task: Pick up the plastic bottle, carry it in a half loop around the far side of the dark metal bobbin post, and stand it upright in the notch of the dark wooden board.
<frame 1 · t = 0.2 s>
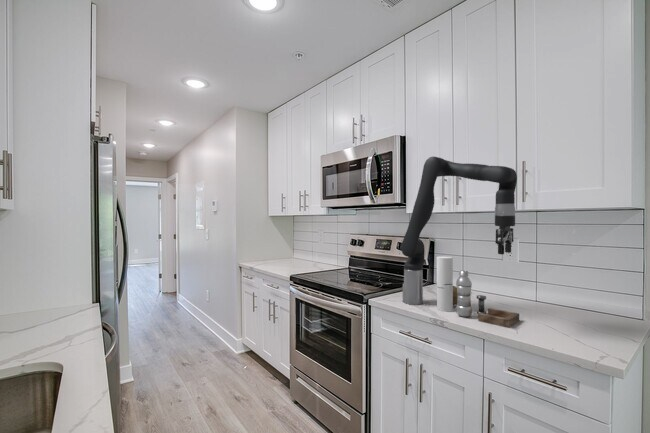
hand: (504, 253, 137), 29 cm above the countertop, tool pointing down, fingers open, 8 cm apart
plastic bottle: (464, 316, 145), on the countertop
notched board: (498, 320, 139), on the countertop
cylindrical container: (444, 309, 156), on the countertop
bobbin post: (481, 313, 149), on the countertop
natural sponge: (451, 305, 163), on the countertop
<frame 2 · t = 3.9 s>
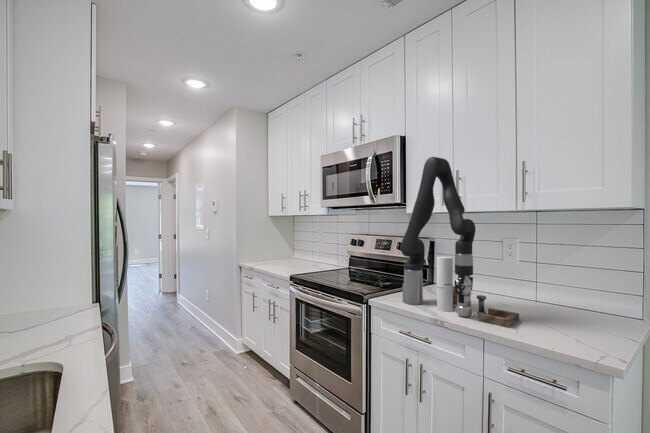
hand: (464, 301, 145), 6 cm above the countertop, tool pointing down, fingers closed on plastic bottle, 5 cm apart
plastic bottle: (464, 316, 145), on the countertop, touching gripper
everything else where it was.
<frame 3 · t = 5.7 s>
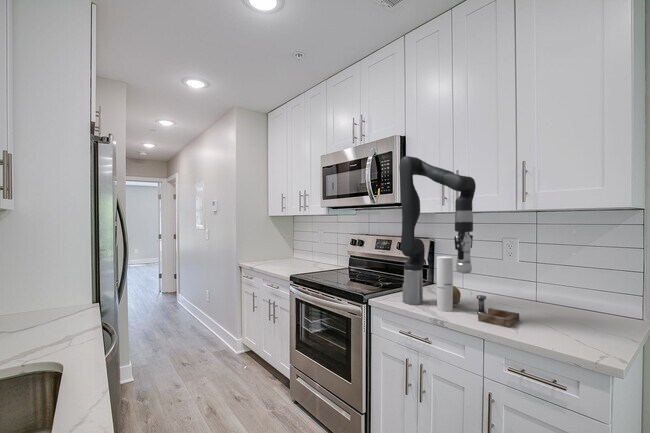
hand: (463, 258, 145), 26 cm above the countertop, tool pointing down, fingers closed on plastic bottle, 5 cm apart
plastic bottle: (463, 273, 145), point 19 cm above the countertop, touching gripper
everything else where it was.
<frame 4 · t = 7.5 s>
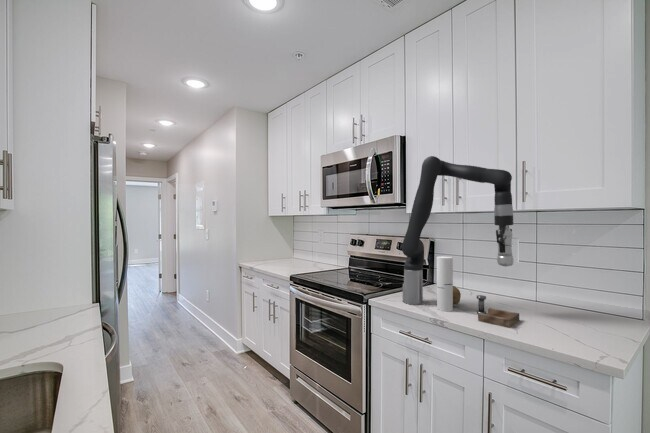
hand: (504, 251, 148), 28 cm above the countertop, tool pointing down, fingers closed on plastic bottle, 5 cm apart
plastic bottle: (505, 266, 148), point 22 cm above the countertop, touching gripper
everything else where it was.
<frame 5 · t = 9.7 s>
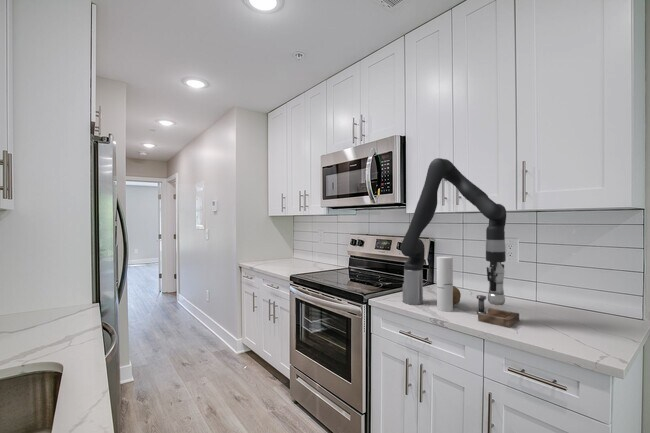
hand: (495, 289, 139), 13 cm above the countertop, tool pointing down, fingers closed on plastic bottle, 5 cm apart
plastic bottle: (496, 305, 139), point 6 cm above the countertop, touching gripper
everything else where it was.
when the fingers open (8 cm above the countertop, at t = 11.4 s): plastic bottle drops 1 cm, resting on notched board.
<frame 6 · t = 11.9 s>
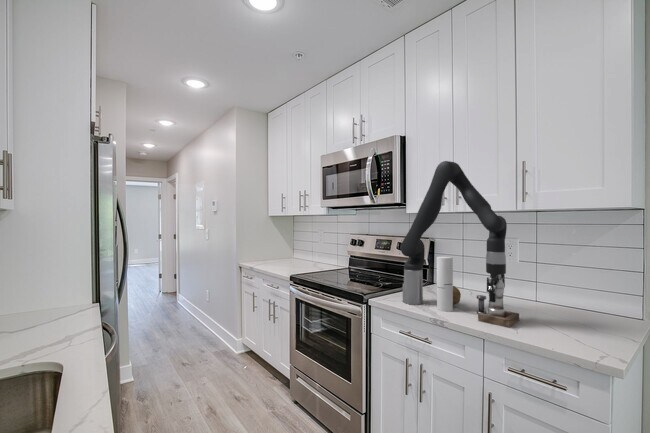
hand: (496, 300, 139), 9 cm above the countertop, tool pointing down, fingers open, 8 cm apart
plastic bottle: (496, 319, 140), resting on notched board
everything else where it was.
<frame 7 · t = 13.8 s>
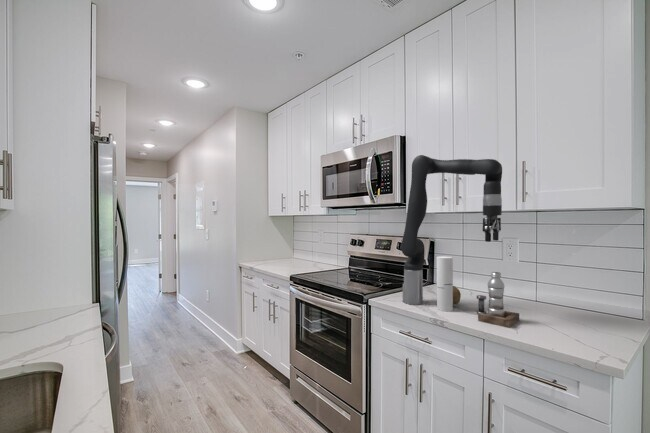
hand: (491, 241, 146), 33 cm above the countertop, tool pointing down, fingers open, 8 cm apart
nothing on the countertop moved.
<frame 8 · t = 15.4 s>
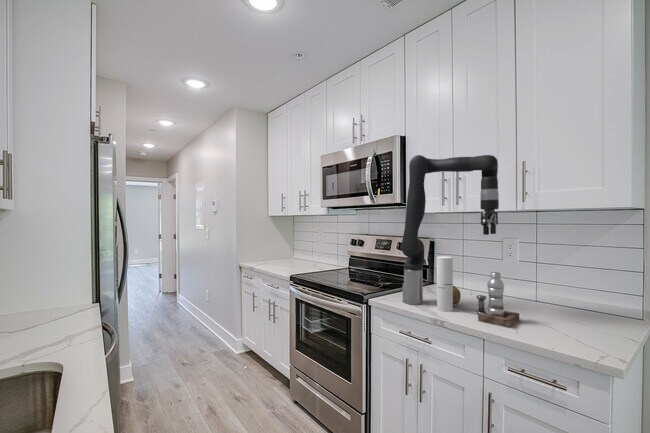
hand: (489, 234, 151), 36 cm above the countertop, tool pointing down, fingers open, 8 cm apart
nothing on the countertop moved.
at the end: plastic bottle 0.8 cm from the target spot on the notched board, point 0.0 cm above the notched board's base; plastic bottle tilted 0°; the gripper is holding nothing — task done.
